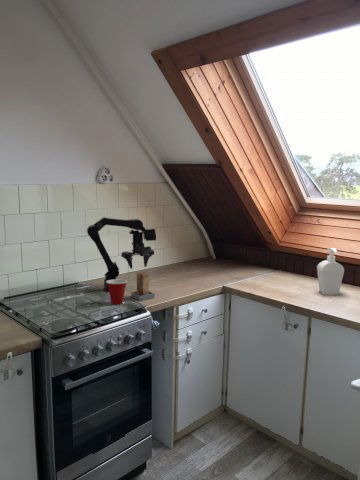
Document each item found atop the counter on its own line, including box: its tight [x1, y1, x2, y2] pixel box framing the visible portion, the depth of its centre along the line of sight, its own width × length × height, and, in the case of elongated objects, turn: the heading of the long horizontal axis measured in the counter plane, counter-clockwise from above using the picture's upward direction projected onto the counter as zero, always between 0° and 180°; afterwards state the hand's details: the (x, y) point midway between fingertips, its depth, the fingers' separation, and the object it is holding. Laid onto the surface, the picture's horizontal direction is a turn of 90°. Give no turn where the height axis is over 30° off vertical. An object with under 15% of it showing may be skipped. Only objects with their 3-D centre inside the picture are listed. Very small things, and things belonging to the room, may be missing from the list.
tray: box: [130, 290, 156, 302], centre depth 226 cm, size 9×9×2 cm
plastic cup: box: [106, 278, 128, 306], centre depth 216 cm, size 11×11×12 cm
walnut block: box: [136, 271, 150, 296], centre depth 225 cm, size 4×4×13 cm
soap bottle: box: [316, 247, 345, 296], centre depth 234 cm, size 12×10×26 cm
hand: (138, 267), depth 242 cm, fingers open, 9 cm apart
